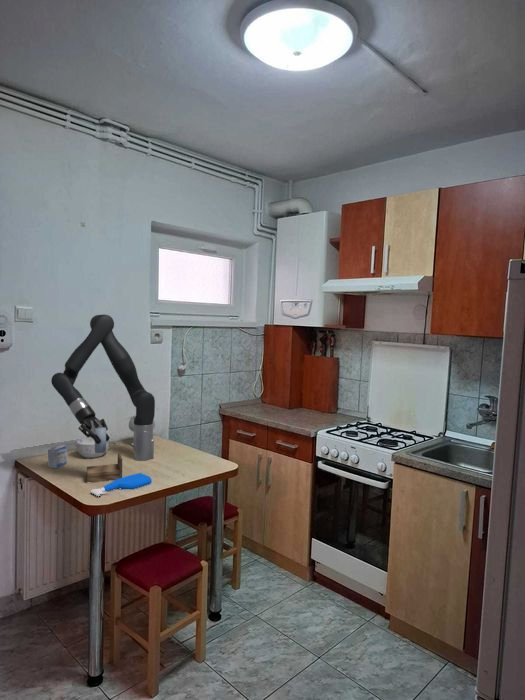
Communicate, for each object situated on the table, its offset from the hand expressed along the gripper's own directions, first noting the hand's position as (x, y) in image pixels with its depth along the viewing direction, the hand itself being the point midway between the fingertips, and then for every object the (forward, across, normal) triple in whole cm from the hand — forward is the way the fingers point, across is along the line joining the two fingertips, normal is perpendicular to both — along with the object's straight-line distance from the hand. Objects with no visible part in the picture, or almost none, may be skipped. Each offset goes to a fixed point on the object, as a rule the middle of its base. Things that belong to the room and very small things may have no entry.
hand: (103, 441), depth 203 cm
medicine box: (-10, +5, +34) cm, 36 cm away
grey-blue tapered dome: (+2, 0, +5) cm, 5 cm away
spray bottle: (+22, -5, +2) cm, 22 cm away
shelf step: (+11, +1, +12) cm, 16 cm away
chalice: (-2, +53, +26) cm, 59 cm away
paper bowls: (-8, +24, +32) cm, 41 cm away
